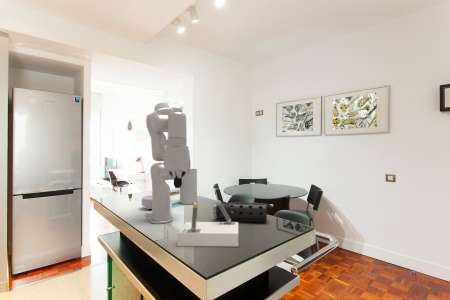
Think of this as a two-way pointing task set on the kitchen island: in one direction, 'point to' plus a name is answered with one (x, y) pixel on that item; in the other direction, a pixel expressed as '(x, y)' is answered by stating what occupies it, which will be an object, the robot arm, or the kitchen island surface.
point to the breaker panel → (208, 234)
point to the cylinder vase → (189, 188)
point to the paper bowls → (147, 202)
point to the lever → (224, 211)
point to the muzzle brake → (242, 211)
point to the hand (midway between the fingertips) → (177, 187)
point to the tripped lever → (194, 216)
